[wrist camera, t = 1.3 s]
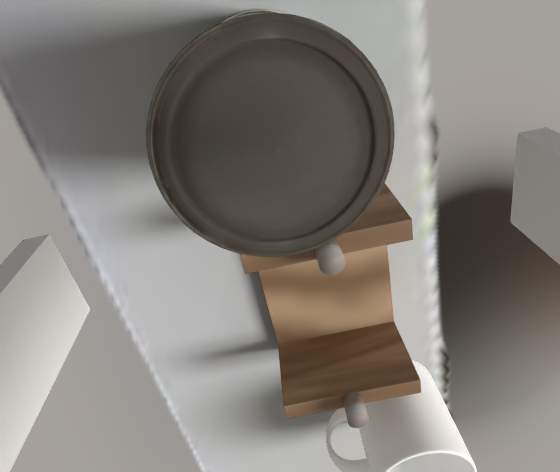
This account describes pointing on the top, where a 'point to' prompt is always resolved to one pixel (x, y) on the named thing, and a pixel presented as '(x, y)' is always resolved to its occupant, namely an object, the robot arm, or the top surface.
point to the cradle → (340, 318)
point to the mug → (407, 434)
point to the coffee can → (270, 134)
